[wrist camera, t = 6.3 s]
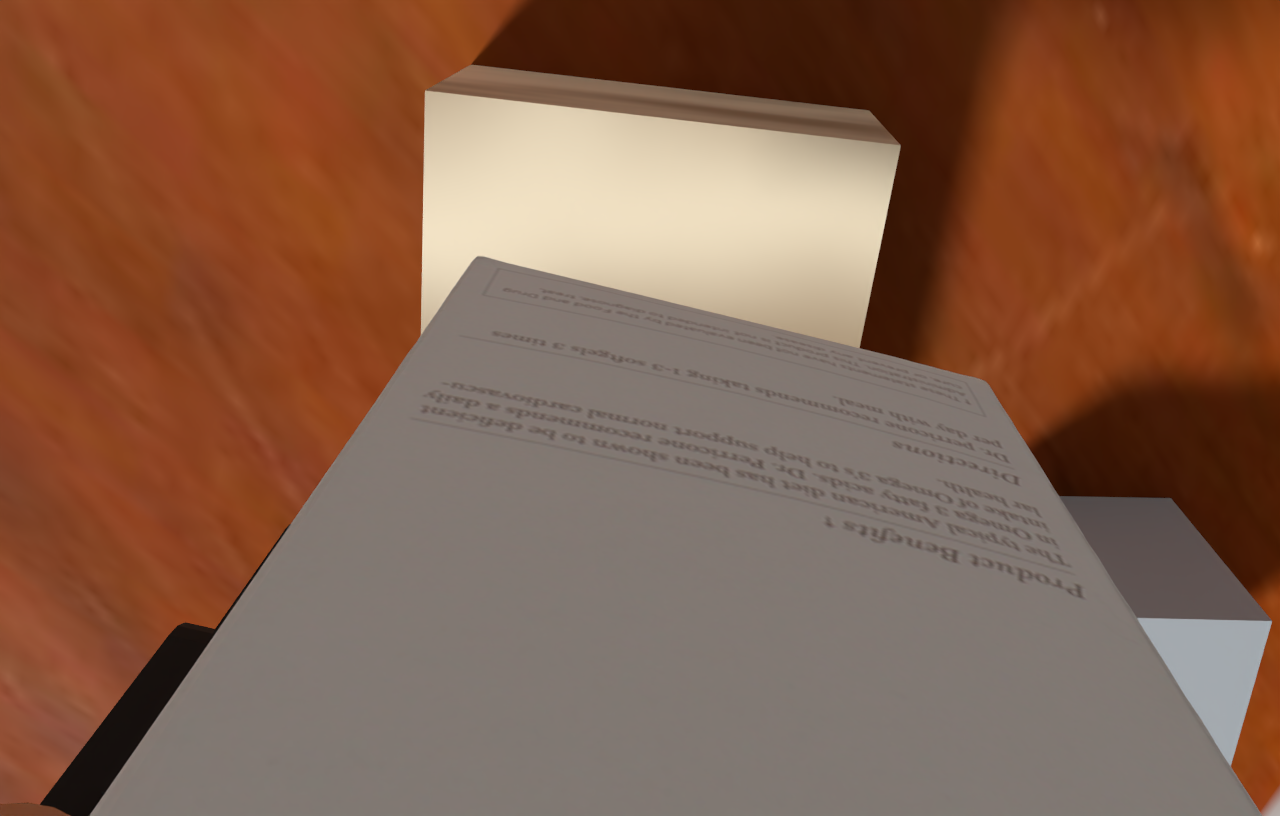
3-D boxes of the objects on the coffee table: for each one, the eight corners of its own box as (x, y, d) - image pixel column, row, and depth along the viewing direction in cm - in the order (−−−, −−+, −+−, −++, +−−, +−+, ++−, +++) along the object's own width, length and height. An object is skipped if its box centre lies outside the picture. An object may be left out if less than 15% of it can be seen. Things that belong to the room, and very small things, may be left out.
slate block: (957, 492, 31) (1012, 614, 25) (1169, 496, 30) (1272, 621, 25) (936, 660, 33) (981, 804, 28) (1131, 665, 33) (1217, 812, 27)
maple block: (473, 63, 26) (424, 90, 22) (867, 108, 26) (901, 145, 22) (461, 419, 31) (418, 504, 26) (800, 459, 31) (817, 551, 26)
